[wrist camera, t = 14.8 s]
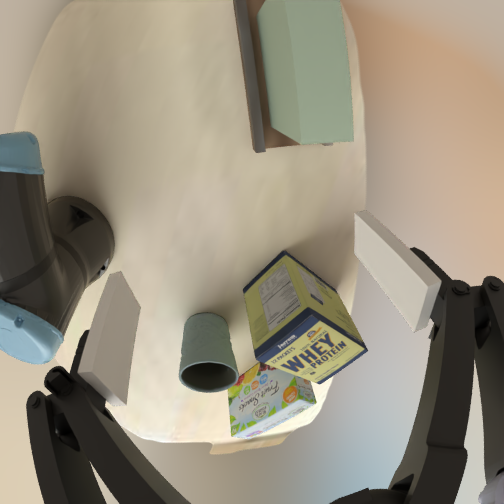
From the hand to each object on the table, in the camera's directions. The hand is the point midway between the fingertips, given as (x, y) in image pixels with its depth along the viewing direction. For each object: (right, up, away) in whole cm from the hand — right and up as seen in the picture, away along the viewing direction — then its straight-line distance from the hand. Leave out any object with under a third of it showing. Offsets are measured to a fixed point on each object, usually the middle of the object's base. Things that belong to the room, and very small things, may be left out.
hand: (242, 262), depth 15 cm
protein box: (+8, -6, +36) cm, 38 cm away
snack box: (+3, -27, +48) cm, 55 cm away
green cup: (-8, -14, +39) cm, 42 cm away
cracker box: (+4, +24, +15) cm, 29 cm away
